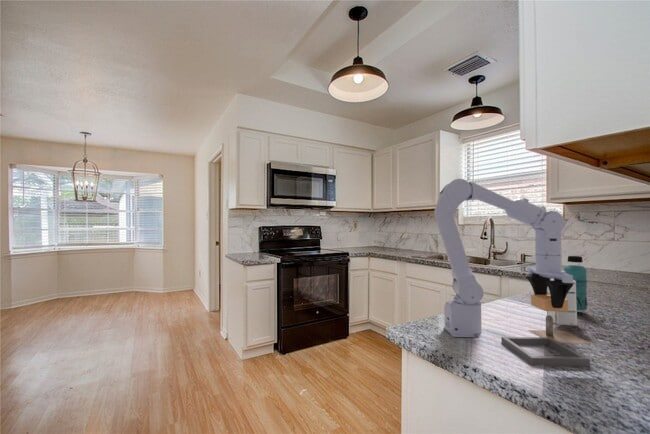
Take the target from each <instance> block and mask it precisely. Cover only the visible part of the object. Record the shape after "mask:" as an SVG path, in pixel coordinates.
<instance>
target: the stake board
mask: <svg viewBox="0 0 650 434" xmlns="http://www.w3.org/2000/svg"><path fill="white" fill-rule="evenodd" d="M528 332H530V333H532V334H533V335H535V336H537V337H542V338H551V339H553V340H555V341H557V342H559V343H561V344H575V345H576V344H582V345H583V344H584V345H585V344H587V345H592V343H591V342H589V341H587V340H585V339H583V338H580V337H578V336H576V335H574V334H573V333H570V332H567V331H566V330H554V323H553V318H552V316H550V315H548V316H547V315H546V316H545V330H540V329H538V330H537V329H533V330H532V329H529V330H528Z"/></svg>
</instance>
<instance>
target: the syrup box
mask: <svg viewBox="0 0 650 434" xmlns="http://www.w3.org/2000/svg"><path fill="white" fill-rule="evenodd" d="M550 280H553V281H554V279H550ZM547 295H550V291H549V288H548V287H547ZM565 299H566V300H568V311H546V316H548V315H550V316H552V318H553V324H555V325H558V326H559V325H563V326H578V312H577V311H578V310H577V304H576V281H575V280H573V286H572V287H571V289H570V290H569V291H568V293H567V295H566V298H565Z"/></svg>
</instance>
